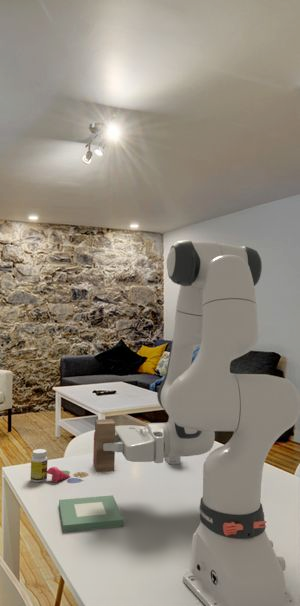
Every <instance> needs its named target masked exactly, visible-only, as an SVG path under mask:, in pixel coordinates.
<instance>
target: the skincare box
mask: <svg viewBox="0 0 300 606" xmlns="http://www.w3.org/2000/svg"><path fill="white" fill-rule="evenodd" d="M164 460H165V461H166V462H167V463H168V464H169V465H178V464H181V456H176V455H174V456H170V457H167V458H164Z"/></svg>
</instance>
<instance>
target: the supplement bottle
mask: <svg viewBox="0 0 300 606" xmlns="http://www.w3.org/2000/svg"><path fill="white" fill-rule="evenodd" d="M47 453H48V452H47V450H46V449H45V448H37V449H34V450H32V457H31V460H30V481H31V482H33V483H43V482H45V481H46V480H47V478H48V474H47V473H46V472H47V471H48V457H47V455H48V454H47Z"/></svg>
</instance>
